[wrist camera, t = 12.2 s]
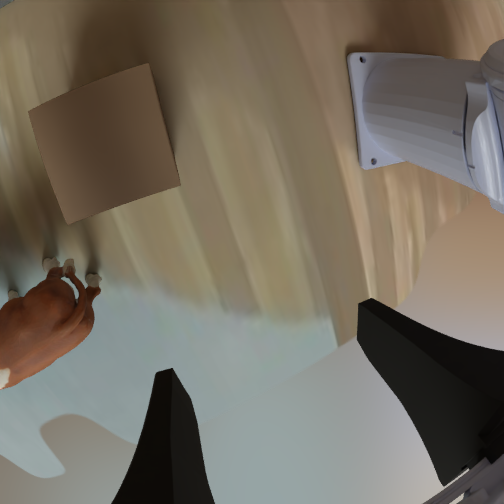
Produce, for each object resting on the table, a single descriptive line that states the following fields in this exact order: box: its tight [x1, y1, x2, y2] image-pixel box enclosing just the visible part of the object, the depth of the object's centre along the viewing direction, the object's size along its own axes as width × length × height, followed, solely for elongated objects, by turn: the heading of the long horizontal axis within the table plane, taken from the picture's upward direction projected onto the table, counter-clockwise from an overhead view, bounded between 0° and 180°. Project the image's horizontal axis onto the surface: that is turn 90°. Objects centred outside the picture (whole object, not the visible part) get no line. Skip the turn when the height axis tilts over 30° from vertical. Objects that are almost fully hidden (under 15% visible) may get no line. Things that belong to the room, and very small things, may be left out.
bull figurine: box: [0, 257, 102, 390], centre depth 15 cm, size 4×13×8 cm, turn 109°
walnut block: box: [28, 63, 181, 225], centre depth 13 cm, size 5×5×6 cm
